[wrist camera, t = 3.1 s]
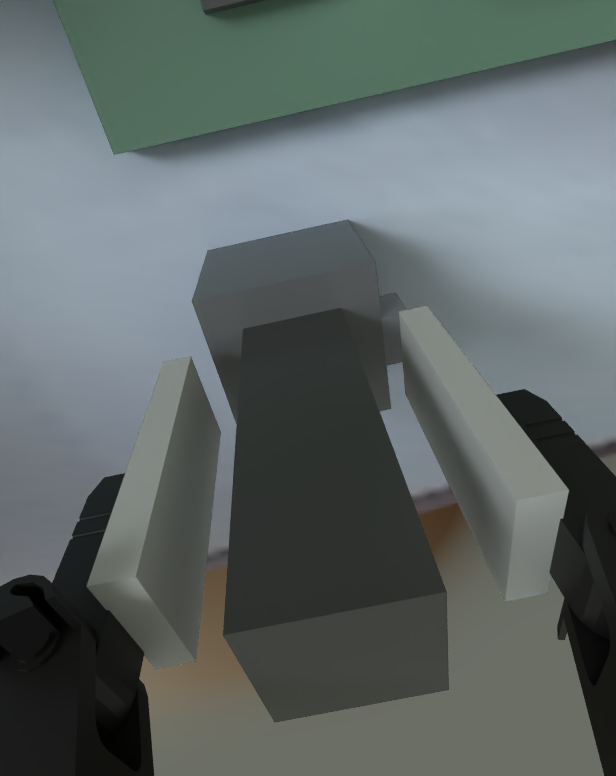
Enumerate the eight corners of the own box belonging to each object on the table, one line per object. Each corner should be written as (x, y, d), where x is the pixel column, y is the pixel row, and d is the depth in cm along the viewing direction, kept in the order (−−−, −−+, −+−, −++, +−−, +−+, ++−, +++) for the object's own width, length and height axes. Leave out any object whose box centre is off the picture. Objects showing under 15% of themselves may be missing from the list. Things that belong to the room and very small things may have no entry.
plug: (245, 368, 18) (227, 758, 8) (207, 250, 16) (97, 604, 5) (383, 339, 18) (559, 696, 8) (370, 214, 16) (620, 501, 5)
